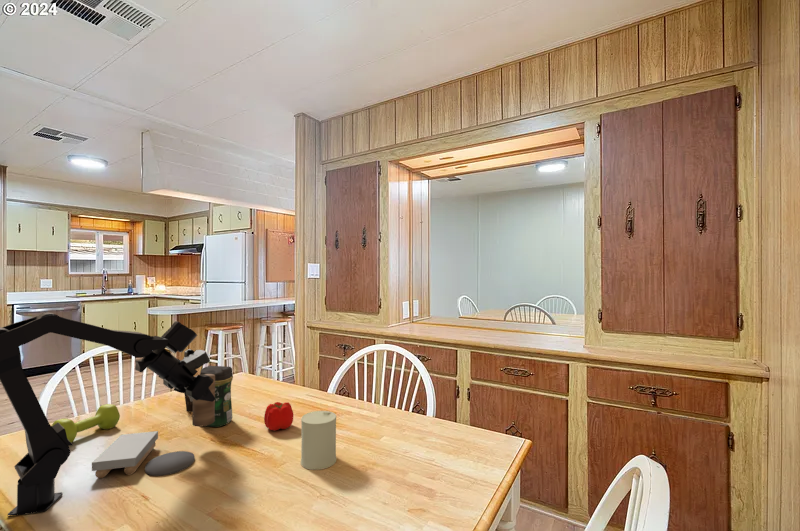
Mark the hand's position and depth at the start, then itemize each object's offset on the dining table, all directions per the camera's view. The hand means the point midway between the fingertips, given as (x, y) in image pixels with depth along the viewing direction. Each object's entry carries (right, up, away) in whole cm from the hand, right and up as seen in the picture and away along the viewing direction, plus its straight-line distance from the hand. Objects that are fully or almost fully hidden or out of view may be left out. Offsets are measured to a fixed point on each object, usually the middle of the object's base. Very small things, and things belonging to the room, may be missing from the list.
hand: (208, 397), depth 110 cm
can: (+34, -14, -9) cm, 37 cm away
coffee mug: (-17, -14, +28) cm, 35 cm away
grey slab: (-16, -13, -10) cm, 23 cm away
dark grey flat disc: (-4, -13, -11) cm, 18 cm away
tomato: (+16, -14, +12) cm, 24 cm away
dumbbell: (-40, -14, +6) cm, 43 cm away
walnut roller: (-1, -7, -1) cm, 7 cm away
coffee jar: (-5, -14, +15) cm, 21 cm away
